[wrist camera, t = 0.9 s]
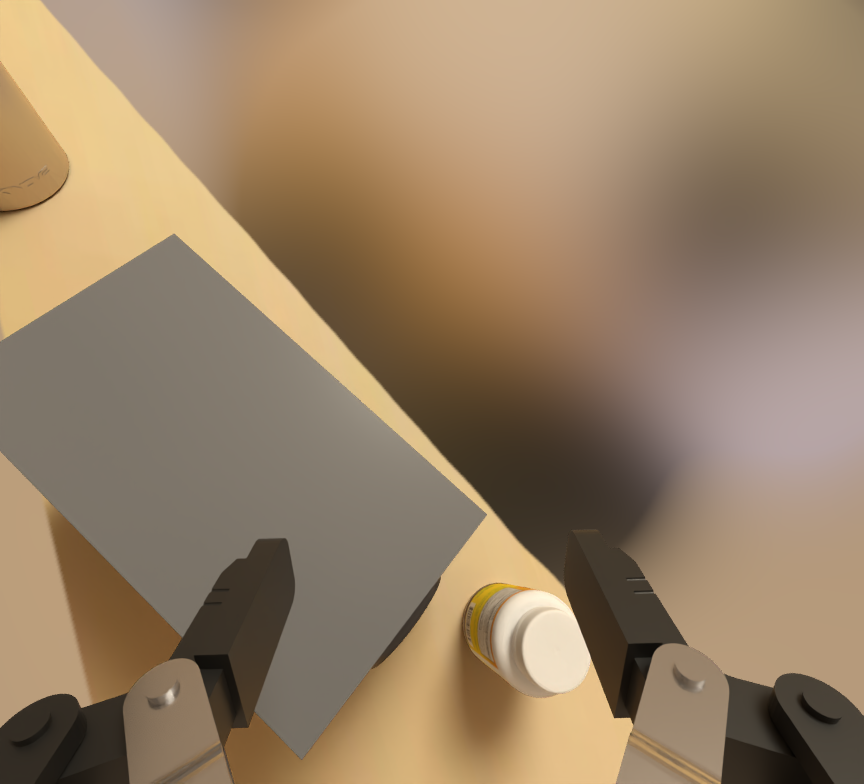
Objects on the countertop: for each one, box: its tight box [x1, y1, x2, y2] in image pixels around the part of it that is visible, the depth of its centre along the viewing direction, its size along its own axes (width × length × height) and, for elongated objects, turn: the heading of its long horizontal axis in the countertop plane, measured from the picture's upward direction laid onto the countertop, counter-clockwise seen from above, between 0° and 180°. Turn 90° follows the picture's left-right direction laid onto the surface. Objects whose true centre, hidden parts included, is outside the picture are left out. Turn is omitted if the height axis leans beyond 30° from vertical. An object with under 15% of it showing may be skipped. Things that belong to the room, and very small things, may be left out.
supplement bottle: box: [463, 583, 591, 698], centre depth 28 cm, size 6×6×10 cm
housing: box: [0, 234, 487, 760], centre depth 26 cm, size 23×12×14 cm, turn 50°
